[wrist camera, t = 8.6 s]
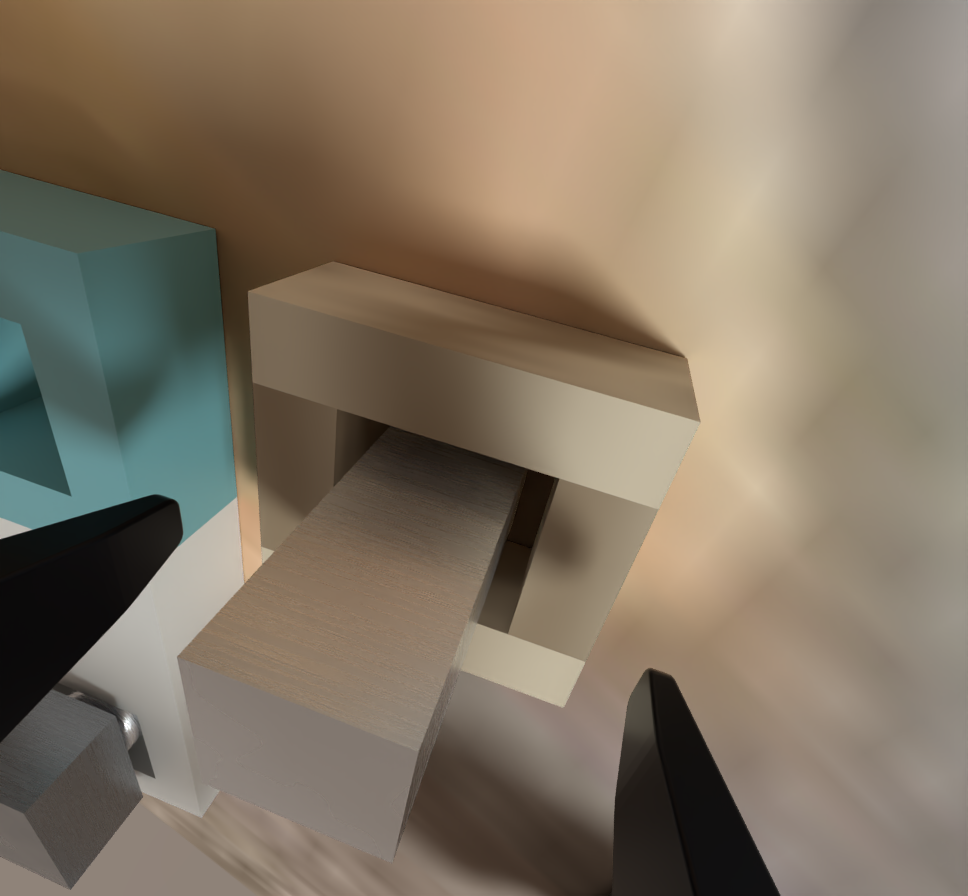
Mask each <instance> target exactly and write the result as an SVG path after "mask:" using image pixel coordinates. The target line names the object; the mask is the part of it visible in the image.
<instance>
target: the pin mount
mask: <svg viewBox="0 0 968 896" xmlns="http://www.w3.org/2000/svg"><path fill="white" fill-rule="evenodd" d="M248 305H249V324H250V343H251V362H252V381H253V400H254V419H255V438H256V457H257V476H258V495H259V514H260V532H261V551H262V564H263V563H264V562H265V561H266V560H267V559H268V558H269V557H270V556H271V554H272V553H273V552H274V551H275V550H276V549H277V548H278V547H279V546H280V545H281V544H282V543H283V541H284V540H285V539H286V538H287V537H288V536H289V535H290V534H291V533H292V532H293V531H294V530H295V528H296V527H297V526H298V525H299V524H300V523H301V522H302V521H303V520H304V519H305V518H306V517H307V516H308V514H309V513H310V512H311V511H312V510H313V509H314V508H315V507H316V506H317V505H318V504H319V503H320V501H321V500H322V499H323V498H324V497H325V496H326V495H327V494H328V493H329V492H330V491H331V490H332V488H333V487H334V486H335V485H336V484H337V483H338V482H339V481H340V480H341V479H342V478H343V477H344V476H345V474H346V473H347V472H348V471H349V470H350V469H351V468H352V467H353V466H354V465H355V464H356V463H357V461H358V460H359V459H360V458H361V457H362V456H363V455H364V454H365V453H366V452H367V451H368V450H369V448H370V447H371V446H372V445H373V444H374V443H375V442H376V441H377V440H378V439H379V438H380V437H381V436H382V434H383V433H384V432H385V431H386V430H387V429H388V428H389V427H390V426H393V427H397V428H400V429H403V430H406V431H409V432H413V433H416V434H419V435H422V436H425V437H429V438H432V439H435V440H438V441H441V442H444V443H448V444H451V445H454V446H457V447H460V448H464V449H467V450H470V451H473V452H476V453H480V454H483V455H486V456H489V457H492V458H496V459H499V460H502V461H505V462H508V463H512V464H515V465H518V466H521V467H524V468H527V469H531V470H534V471H537V472H540V473H543V474H547V475H550V476H553V477H555V480H554V483H553V486H552V489H551V492H550V495H549V498H548V501H547V504H546V507H545V510H544V513H543V517H542V520H541V523H540V526H539V529H538V532H537V535H536V538H535V541H534V544H533V547H532V549H531V548H528V547H525V546H522V545H519V544H516V543H513V542H510V541H507V540H506V543H505V546H504V549H503V551H502V554H501V557H500V560H499V563H498V566H497V568H496V571H495V574H494V577H493V580H492V583H491V585H490V588H489V591H488V594H487V597H486V600H485V602H484V605H483V608H482V611H481V614H480V617H479V619H478V622H477V625H476V628H475V631H474V634H473V636H472V639H471V642H470V645H469V648H468V651H467V653H466V656H465V659H464V662H463V665H462V667H461V670H462V671H465V672H468V673H470V674H473V675H476V676H479V677H481V678H484V679H487V680H489V681H492V682H495V683H497V684H500V685H503V686H506V687H508V688H511V689H514V690H516V691H519V692H522V693H525V694H527V695H530V696H533V697H535V698H538V699H541V700H543V701H546V702H549V703H552V704H554V705H557V706H560V707H562V708H564V706H565V704H566V702H567V700H568V698H569V695H570V693H571V691H572V689H573V687H574V685H575V683H576V681H577V679H578V677H579V675H580V672H581V670H582V668H583V666H584V664H585V662H586V660H587V658H588V656H589V654H590V652H591V650H592V647H593V645H594V643H595V641H596V639H597V637H598V635H599V633H600V631H601V629H602V627H603V625H604V622H605V620H606V618H607V616H608V614H609V612H610V610H611V608H612V606H613V604H614V602H615V599H616V597H617V595H618V593H619V591H620V589H621V587H622V585H623V583H624V581H625V579H626V577H627V574H628V572H629V570H630V568H631V566H632V564H633V562H634V560H635V558H636V556H637V554H638V552H639V549H640V547H641V545H642V543H643V541H644V539H645V537H646V535H647V533H648V531H649V529H650V526H651V524H652V522H653V520H654V518H655V516H656V514H657V512H658V510H659V508H660V506H661V504H662V501H663V499H664V497H665V495H666V493H667V491H668V489H669V487H670V485H671V483H672V481H673V479H674V476H675V474H676V472H677V470H678V468H679V466H680V464H681V462H682V460H683V458H684V456H685V453H686V451H687V449H688V447H689V445H690V443H691V441H692V439H693V437H694V435H695V433H696V431H697V428H698V426H699V424H700V417H699V413H698V408H697V403H696V398H695V393H694V389H693V384H692V379H691V374H690V370H689V365H688V360H687V358H683V357H680V356H676V355H672V354H669V353H665V352H661V351H658V350H654V349H650V348H647V347H643V346H640V345H636V344H632V343H629V342H625V341H621V340H618V339H614V338H610V337H607V336H603V335H600V334H596V333H592V332H589V331H585V330H581V329H578V328H574V327H570V326H567V325H563V324H560V323H556V322H552V321H549V320H545V319H541V318H538V317H534V316H530V315H527V314H523V313H520V312H516V311H512V310H509V309H505V308H501V307H498V306H494V305H490V304H487V303H483V302H480V301H476V300H472V299H469V298H465V297H461V296H458V295H454V294H450V293H447V292H443V291H440V290H436V289H432V288H429V287H425V286H421V285H418V284H414V283H410V282H407V281H403V280H400V279H396V278H392V277H389V276H385V275H381V274H378V273H374V272H370V271H367V270H363V269H360V268H356V267H352V266H349V265H345V264H341V263H338V262H334V261H332V262H330V263H327V264H324V265H321V266H318V267H315V268H312V269H310V270H307V271H304V272H301V273H298V274H295V275H293V276H290V277H287V278H284V279H281V280H278V281H275V282H273V283H270V284H267V285H264V286H261V287H258V288H255V289H253V290H250V291H248Z"/></svg>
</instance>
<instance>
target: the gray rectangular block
mask: <svg viewBox="0 0 968 896" xmlns="http://www.w3.org/2000/svg"><path fill="white" fill-rule="evenodd" d="M141 735H142V731H141V727H140V724H139V721H138V717H137V715H134V714H132V713H129V712H127V711H125V710H122V709H120V708H117V707H115V706H112V705H110V704H108V703H105V702H103V701H100V700H98V699H96V698H93V697H91V696H88V695H86V694H84V693H81V692H79V691H76V690H74V689H73V690H72V691H71V692H70V693H69V694H68V695H65V694H62V693H60V692H58V691H55V690H53V689H52V690H51V691H50V692H49V693H48V694H47V695H46V696H45V697H44V698H43V699H42V700H41V701H40V702H39V703H38V704H37V705H36V707H35V708H34V709H33V710H32V711H31V712H30V713H29V714H28V715H27V716H26V717H25V718H24V719H23V720H22V721H21V722H20V723H19V724H18V725H17V726H16V727H15V729H14V730H13V731H12V732H11V733H10V734H9V735H8V736H7V737H6V738H5V739H4V740H3V741H2V742H1V743H0V857H2V858H4V859H6V860H8V861H11V862H12V863H15V864H17V865H19V866H21V867H23V868H26V869H27V870H30V871H32V872H34V873H36V874H38V875H40V876H42V877H44V878H46V879H49V880H51V881H53V882H55V883H57V884H59V885H61V886H63V887H65V888H67V889H70V890H71V888H72V887H73V886H74V885H75V884H76V882H77V881H78V880H79V878H80V877H81V876H82V875H83V873H84V872H85V871H86V869H87V868H88V867H89V865H90V864H91V863H92V862H93V860H94V859H95V858H96V857H97V855H98V854H99V853H100V851H101V850H102V849H103V847H104V846H105V845H106V844H107V842H108V841H109V840H110V839H111V837H112V836H113V835H114V833H115V832H116V831H117V830H118V828H119V827H120V826H121V824H122V823H123V822H124V821H125V819H126V818H127V817H128V815H129V814H130V813H131V812H132V810H133V809H134V808H135V806H136V805H137V804H138V803H139V801H140V800H141V799H142V798H143V795H142V792H141V789H140V786H139V784H138V781H137V778H136V775H135V772H134V769H133V766H132V763H131V760H130V757H129V754H128V750H129V749H130V748H131V747H132V746H133V744H134V743H135V742H136V741H137V740H138V739H139V737H140V736H141Z"/></svg>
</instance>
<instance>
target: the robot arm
mask: <svg viewBox="0 0 968 896" xmlns="http://www.w3.org/2000/svg"><path fill="white" fill-rule="evenodd" d="M182 537H183V525H182V518H181V512H180V506H179V504H178V502H177V501H176V500H174V499H171V498H169V497H166V496H163V495H159V494H153V495H149V496H145V497H142V498H139V499H135V500H132V501H128V502H125V503H122V504H118V505H115V506H111V507H108V508H105V509H101V510H98V511H94V512H91V513H88V514H84V515H81V516H77V517H74V518H70V519H67V520H64V521H60V522H57V523H53V524H50V525H47V526H43V527H40V528H36V529H33V530H30V531H26V532H23V533H19V534H16V535H12V536H9V537H6V538H2V539H0V743H1V742H2V741H3V740H4V739H5V738H6V737H7V736H8V735H9V734H10V733H11V732H12V731H13V730H14V729H15V727H16V726H17V725H18V724H19V723H20V722H21V721H22V720H23V719H24V718H25V717H26V716H27V715H28V714H29V713H30V712H31V711H32V710H33V709H34V708H35V707H36V705H37V704H38V703H39V702H40V701H41V700H42V699H43V698H44V697H45V696H46V695H47V694H48V693H49V692H50V691H51V690H52V689H53V688H54V687H55V686H56V685H57V683H58V682H59V681H60V680H61V679H62V678H63V677H64V676H65V675H66V674H67V673H68V672H69V671H70V670H71V669H72V668H73V667H74V666H75V665H76V664H77V662H78V661H79V660H80V659H81V658H82V657H83V656H84V655H85V654H86V653H87V652H88V651H89V650H90V649H91V648H92V647H93V646H94V645H95V644H96V643H97V642H98V640H99V639H100V638H101V637H102V636H103V635H104V634H105V633H106V632H107V631H108V630H109V629H110V628H111V627H112V626H113V625H114V624H115V623H116V622H117V620H118V619H119V618H120V617H121V616H122V615H123V614H124V613H125V612H126V611H127V609H128V608H129V607H130V606H131V605H132V603H133V602H134V601H135V600H136V599H137V597H138V596H139V595H140V594H141V592H142V591H143V590H144V588H145V587H146V586H147V585H148V583H149V582H150V581H151V580H152V578H153V577H154V576H155V575H156V573H157V572H158V571H159V569H160V568H161V567H162V566H163V564H164V563H165V562H166V561H167V559H168V558H169V557H170V556H171V554H172V553H173V552H174V550H175V549H176V548H177V547H178V545H179V544H180V542H181V540H182ZM608 896H780V894H779V891H778V889H777V887H776V885H775V883H774V881H773V879H772V877H771V875H770V873H769V871H768V869H767V867H766V865H765V863H764V861H763V859H762V857H761V855H760V853H759V851H758V849H757V847H756V845H755V842H754V840H753V838H752V836H751V834H750V832H749V830H748V828H747V826H746V824H745V822H744V820H743V818H742V816H741V814H740V812H739V810H738V808H737V806H736V804H735V802H734V800H733V798H732V796H731V794H730V791H729V789H728V787H727V785H726V783H725V781H724V779H723V777H722V775H721V773H720V771H719V769H718V767H717V765H716V763H715V761H714V759H713V757H712V755H711V753H710V751H709V749H708V747H707V745H706V742H705V740H704V738H703V736H702V734H701V732H700V730H699V728H698V726H697V724H696V722H695V720H694V718H693V716H692V714H691V712H690V710H689V708H688V706H687V704H686V702H685V700H684V698H683V696H682V693H681V691H680V689H679V687H678V685H677V683H676V681H675V680H674V678H673V677H672V676H671V675H669V674H667V673H664V672H661V671H658V670H656V669H653V668H648V669H647V670H645V672H644V673H643V675H642V677H641V678H640V680H639V682H638V683H637V685H636V687H635V688H634V690H633V692H632V694H631V696H630V698H629V701H628V706H627V712H626V719H625V727H624V734H623V742H622V749H621V757H620V764H619V772H618V779H617V787H616V796H615V810H614V843H613V884H612V892H611V893H610V894H609V895H608Z"/></svg>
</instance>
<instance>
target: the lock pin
mask: <svg viewBox="0 0 968 896" xmlns="http://www.w3.org/2000/svg"><path fill="white" fill-rule="evenodd" d="M527 472H528V469H527V468H524V467H521V466H518V465H515V464H512V463H508V462H505V461H502V460H499V459H496V458H492V457H489V456H486V455H483V454H480V453H476V452H473V451H470V450H467V449H464V448H460V447H457V446H454V445H451V444H448V443H444V442H441V441H438V440H435V439H432V438H429V437H425V436H422V435H419V434H416V433H413V432H409V431H406V430H403V429H400V428H397V427H393V426H390V427H389V428H388V429H387V430H386V431H385V432H384V433H383V434H382V436H381V437H380V438H379V439H378V440H377V441H376V442H375V443H374V444H373V445H372V446H371V447H370V448H369V450H368V451H367V452H366V453H365V454H364V455H363V456H362V457H361V458H360V459H359V460H358V461H357V463H356V464H355V465H354V466H353V467H352V468H351V469H350V470H349V471H348V472H347V473H346V474H345V476H344V477H343V478H342V479H341V480H340V481H339V482H338V483H337V484H336V485H335V486H334V487H333V488H332V490H331V491H330V492H329V493H328V494H327V495H326V496H325V497H324V498H323V499H322V500H321V501H320V503H319V504H318V505H317V506H316V507H315V508H314V509H313V510H312V511H311V512H310V513H309V514H308V516H307V517H306V518H305V519H304V520H303V521H302V522H301V523H300V524H299V525H298V526H297V527H296V528H295V530H294V531H293V532H292V533H291V534H290V535H289V536H288V537H287V538H286V539H285V540H284V541H283V543H282V544H281V545H280V546H279V547H278V548H277V549H276V550H275V551H274V552H273V553H272V554H271V556H270V557H269V558H268V559H267V560H266V561H265V562H264V563H263V564H262V565H261V566H260V567H259V568H258V570H257V571H256V572H255V573H254V574H253V575H252V576H251V577H250V578H249V579H248V580H247V581H246V583H245V584H244V585H243V586H242V587H241V588H240V589H239V590H238V591H237V592H236V593H235V594H234V596H233V597H232V598H231V599H230V600H229V601H228V602H227V603H226V604H225V605H224V606H223V607H222V608H221V610H220V611H219V612H218V613H217V614H216V615H215V616H214V617H213V618H212V619H211V620H210V621H209V623H208V624H207V625H206V626H205V627H204V628H203V629H202V630H201V631H200V632H199V633H198V634H197V636H196V637H195V638H194V639H193V640H192V641H191V642H190V643H189V644H188V645H187V646H186V647H185V648H184V650H183V651H182V652H181V653H180V654H179V655H178V656H177V660H178V665H179V670H180V675H181V680H182V685H183V690H184V695H185V700H186V704H187V709H188V714H189V719H190V724H191V729H192V734H193V739H194V744H195V749H196V754H197V759H198V764H199V769H200V774H201V779H202V783H204V784H206V785H209V786H211V787H213V788H216V789H218V790H220V791H223V792H225V793H228V794H230V795H232V796H235V797H237V798H239V799H242V800H244V801H246V802H249V803H251V804H253V805H256V806H258V807H260V808H263V809H265V810H268V811H270V812H272V813H275V814H277V815H279V816H282V817H284V818H286V819H289V820H291V821H293V822H296V823H298V824H300V825H303V826H305V827H308V828H310V829H312V830H315V831H317V832H319V833H322V834H324V835H326V836H329V837H331V838H333V839H336V840H338V841H340V842H343V843H345V844H348V845H350V846H352V847H355V848H357V849H359V850H362V851H364V852H366V853H369V854H371V855H373V856H376V857H378V858H380V859H383V860H385V861H388V862H390V863H393V860H394V857H395V854H396V851H397V849H398V846H399V843H400V840H401V837H402V834H403V832H404V829H405V826H406V823H407V820H408V817H409V815H410V812H411V809H412V806H413V803H414V800H415V798H416V795H417V792H418V789H419V786H420V783H421V781H422V778H423V775H424V772H425V769H426V767H427V764H428V761H429V758H430V755H431V752H432V750H433V747H434V744H435V741H436V738H437V735H438V733H439V730H440V727H441V724H442V721H443V718H444V716H445V713H446V710H447V707H448V704H449V701H450V699H451V696H452V693H453V690H454V687H455V684H456V682H457V679H458V676H459V673H460V670H461V667H462V665H463V662H464V659H465V656H466V653H467V651H468V648H469V645H470V642H471V639H472V636H473V634H474V631H475V628H476V625H477V622H478V619H479V617H480V614H481V611H482V608H483V605H484V602H485V600H486V597H487V594H488V591H489V588H490V585H491V583H492V580H493V577H494V574H495V571H496V568H497V566H498V563H499V560H500V557H501V554H502V551H503V549H504V546H505V543H506V540H507V537H508V535H509V532H510V529H511V526H512V523H513V520H514V517H515V513H516V510H517V506H518V503H519V500H520V496H521V493H522V489H523V486H524V482H525V479H526V475H527Z"/></svg>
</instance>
